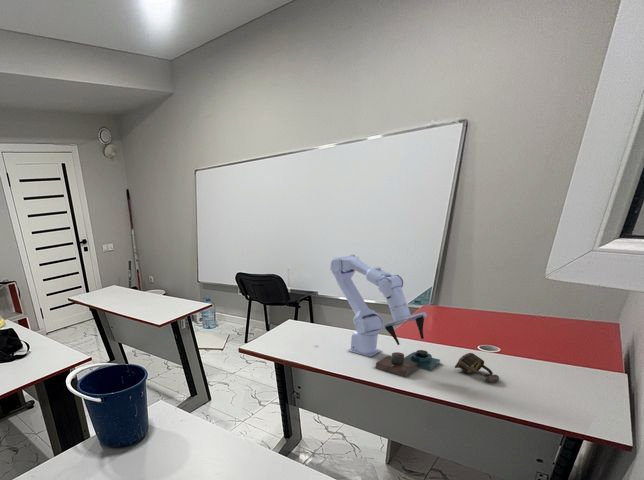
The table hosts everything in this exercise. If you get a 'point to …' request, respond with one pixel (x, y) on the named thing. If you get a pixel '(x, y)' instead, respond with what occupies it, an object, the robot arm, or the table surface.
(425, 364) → the button box
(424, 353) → the button
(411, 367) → the dial panel
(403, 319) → the robot arm
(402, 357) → the dial knob
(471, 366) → the mechanical counter
